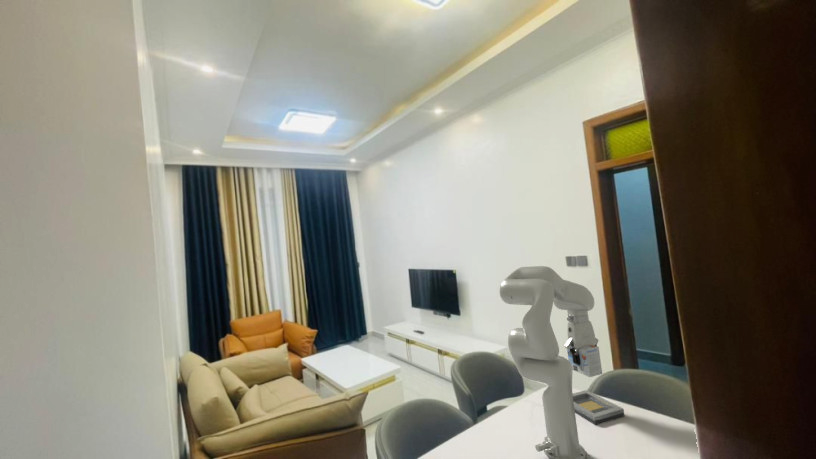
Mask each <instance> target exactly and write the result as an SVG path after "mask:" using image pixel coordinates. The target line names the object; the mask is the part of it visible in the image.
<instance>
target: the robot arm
mask: <svg viewBox="0 0 816 459" xmlns="http://www.w3.org/2000/svg"><path fill="white" fill-rule="evenodd" d="M499 286H500V287H499V297H500V298H501V301H503V302H504V303H505V304H508V305H515V306H516V305H518V306H531V307H530V309H529V310H528V311H526V313H525V314H524V316H523V318H522V321H521V324H522V327H516V328H513V329H512V330H511V331H510V332H509V334H508V339H507V344H508V349H509V353H510V355H511V357H512V359H513V363H514V364H515V366H516V369H517V371H518V373H519V375H520V377H522V378H524V379H526V380H528V381H534V382H539V383H542V384H546V385H548V387H546V388H545V390H544V391H543V393H542V397H541V399H542V407H543V413H544V422H545V428H546V436H545V437H544V441H542V443H538V444H535V445H534V447H535V450H536V451H537V452H539V453H540V452H544V454H545V455H546V456H547V457H549V459H586V458H587V454H586V450H585V448H584V447H583V446H582V445H581V444H580V442H579V432H578V424H577V419H576V413H575V409H574V402H573V370H572V365H571V363H570V362H569V359H568V358H565V357H564V356H561V355H559V354H560V347H559V344H558V340H557V338H556V335H555V332H554V330H553V327H552V323H551V315H552V310H553V307H555V308H557V309H559V310H561V311H562V310H564V311H567V318H566V320H567V321H568V322H567V341H566V343H565V344H564V348H566V350H567V349H568V351H569V352H570V353H571V354H572V358H573V363H575V364H577V365H580V358H579V355H578V351H579V349H581V348H584V347H588V346H593V345H594V346H597V345H598V343H599V339H598V338H596V335H595V330H594V326H593V324H592V322H591V320H589V319H590V318H589V313H588V312H589V311H592V310H593V309H594V307H595V298H594V295H593V294H592V293H591V291H590V290H589V288H587V287H586V286H584V285H581V284H579V283H576V282H574V281H573V282H572V281H570V280H565V279H563V278H562V277H561V275H559V274H558V273H557V272H556V271H555V270H554V269H553V268H552V267H549V266H546V265H539V266H521V267H518V268H516V269H515V270H514V271H513V272H511V273H510V274H509V275H508V276H507V277H506V278H504V279H503V281H502V282H501V284H500V285H499ZM553 305H554V306H553ZM570 346H572V347H570ZM574 348H575V351H574Z"/></svg>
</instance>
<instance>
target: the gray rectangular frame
mask: <svg viewBox="0 0 816 459" xmlns="http://www.w3.org/2000/svg"><path fill="white" fill-rule="evenodd" d="M572 394H573V402H574V409H575V415H578V416H580V417H582V418H583V419H585V420H586V421H588V422H590V423H591V424H593V425H595V426H597V425H600V424H604V423H606V422H607V423H608V422H610V421H615V420H618V419H620V418H624V417H625V410H624V408H623V407H621V406H619V405H616V404H615V403H613V402H611V401H609V400H607V399H605V398H604V397H603V398H602V397H601V396H600V395H597V394H595V393H593V392H591V391H589V390H587V389H585V390H582V391H578V392H574V393H573V392H572Z"/></svg>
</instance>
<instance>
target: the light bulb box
mask: <svg viewBox="0 0 816 459" xmlns="http://www.w3.org/2000/svg"><path fill="white" fill-rule="evenodd" d="M570 347H572V346H570ZM566 350H567V357H568V358H567V360H568V361H569V362H570V363H571V365H572V371H575V372H576V373H579V374H581V375H583V376H586V377H588V378H593V377H596V376H600V375H603V368H602V362H601V355H600V347H599V346H594V345H593V346H588V347H584V348H581V349H579V351H578V355H579V358H580V365H577V364H575V363H573V358H572V354H571V353H570V352H569V351H568V349H566ZM574 351H575V348H574Z"/></svg>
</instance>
